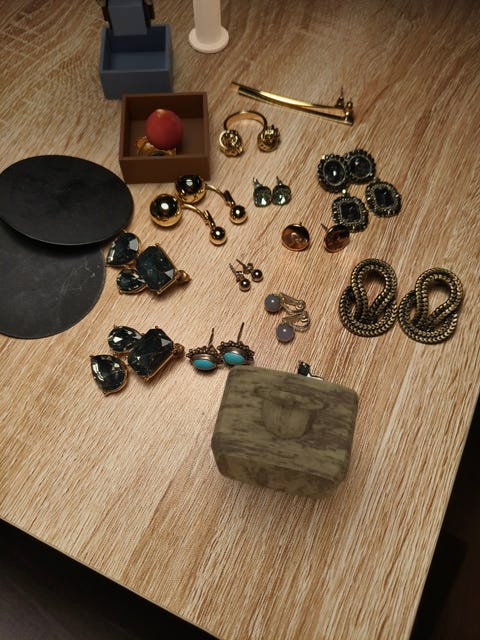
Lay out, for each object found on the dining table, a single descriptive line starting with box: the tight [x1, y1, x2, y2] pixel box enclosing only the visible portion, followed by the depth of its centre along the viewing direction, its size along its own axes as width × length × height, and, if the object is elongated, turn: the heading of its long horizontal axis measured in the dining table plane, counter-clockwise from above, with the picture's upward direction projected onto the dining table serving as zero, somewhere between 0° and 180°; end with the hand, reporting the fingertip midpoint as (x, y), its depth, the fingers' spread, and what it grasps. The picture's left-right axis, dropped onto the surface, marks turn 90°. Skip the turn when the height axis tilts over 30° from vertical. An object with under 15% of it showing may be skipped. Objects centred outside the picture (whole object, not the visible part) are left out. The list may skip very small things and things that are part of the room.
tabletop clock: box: [210, 364, 360, 500], centre depth 62 cm, size 14×9×25 cm, turn 77°
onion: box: [145, 109, 184, 151], centre depth 91 cm, size 6×6×8 cm
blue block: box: [108, 0, 147, 36], centre depth 92 cm, size 5×5×5 cm
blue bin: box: [98, 22, 174, 101], centre depth 100 cm, size 11×11×6 cm
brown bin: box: [117, 91, 211, 185], centre depth 93 cm, size 13×13×6 cm
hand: (130, 22), depth 93 cm, fingers closed on blue block, 5 cm apart
